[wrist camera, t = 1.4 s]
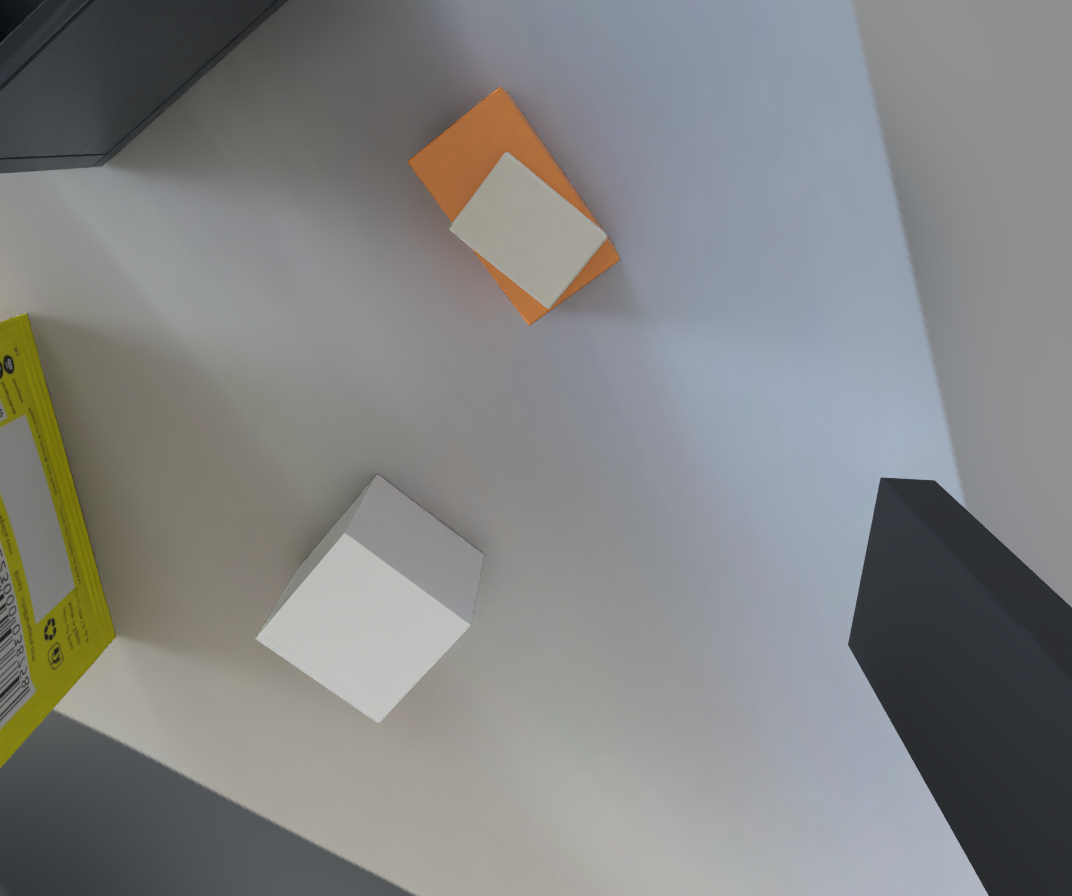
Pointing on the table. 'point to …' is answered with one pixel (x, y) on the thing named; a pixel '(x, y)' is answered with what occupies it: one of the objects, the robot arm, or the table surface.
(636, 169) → the table surface
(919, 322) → the table surface
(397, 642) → the white cube
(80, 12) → the black open storage box
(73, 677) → the food package
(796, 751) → the table surface
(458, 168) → the orange and grey block
